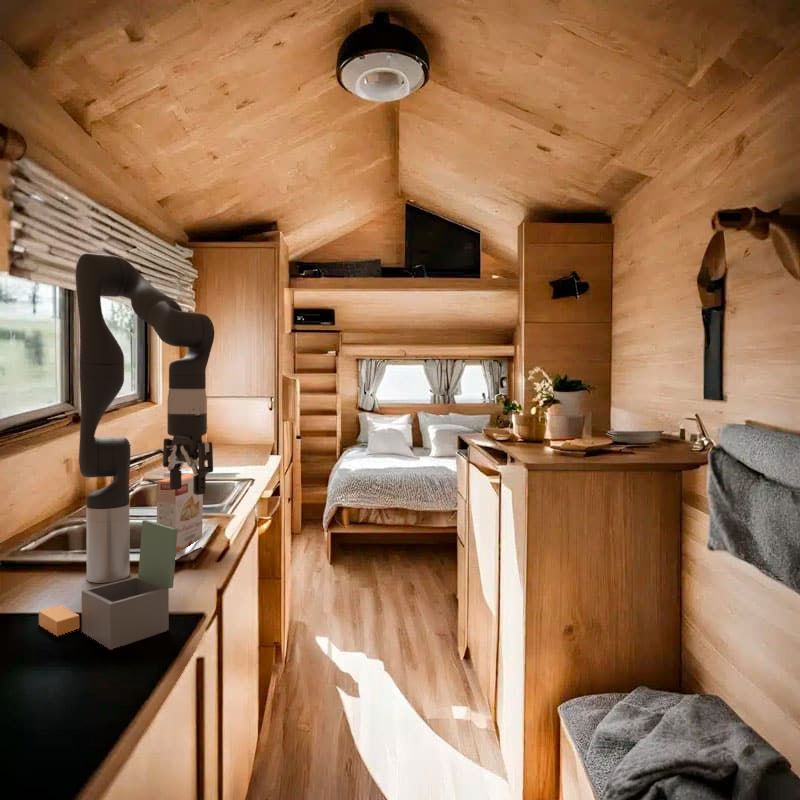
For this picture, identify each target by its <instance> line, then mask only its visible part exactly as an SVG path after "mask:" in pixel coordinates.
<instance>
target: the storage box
mask: <svg viewBox="0 0 800 800" xmlns="http://www.w3.org/2000/svg"><path fill="white" fill-rule="evenodd" d="M169 589H170V588H167V587H164V586H162V585H159V584H157V583H154V582H152V581H149V580H147V579H145V578H142V577H140V576H138V575H137V576H134V577H130V578H124V579H122V580H118V581H114V582H108V583H106V584H105V583H104V584H102V585H98V586H93V587H90V588H86V589H82V590H81V633H82V632H83V633H84V634H86V635H87V636H86V635H85V636H86V637H88V636H89V637H91V638H92V639H91V638H90V639H91V640H93V639H94V640H96V641H97V642H96V641H95V642H96V643H98V642H99V643H98V644H100V645H101V644H102V645H101V646H103V645H104V648H106V647H107V649H108V650H111V651H112V650H114V648H115V649H118V648H121V647H124V646H126V645H129V644H132V643H135V642H138V641H141V640H144V639H147V638H150V637H153V636H156V635H159V634H162V633H165V632H167V630H168V631H169V630H170V629H169V628H170V627H169V624H170V623H169V621H170V620H169V619H170V617H169V616H170V615H169V608H170V607H169V606H170V605H169V599H170V598H169V597H170V595H169V592H170V590H169ZM84 634H83V635H84ZM89 637H88V638H89ZM94 640H93V641H94ZM120 646H121V647H120ZM117 647H118V648H117Z"/></svg>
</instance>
